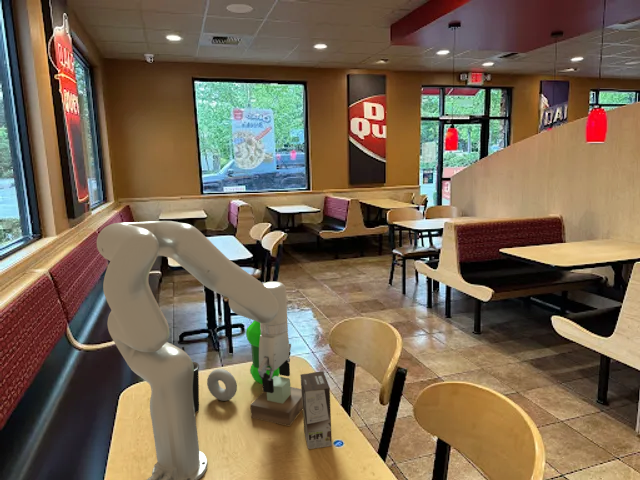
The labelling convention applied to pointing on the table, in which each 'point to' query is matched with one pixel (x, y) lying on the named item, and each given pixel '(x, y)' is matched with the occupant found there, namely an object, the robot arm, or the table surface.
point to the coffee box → (316, 409)
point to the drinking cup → (195, 385)
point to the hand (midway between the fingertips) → (276, 383)
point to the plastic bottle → (256, 351)
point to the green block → (280, 390)
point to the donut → (215, 387)
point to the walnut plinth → (278, 408)
